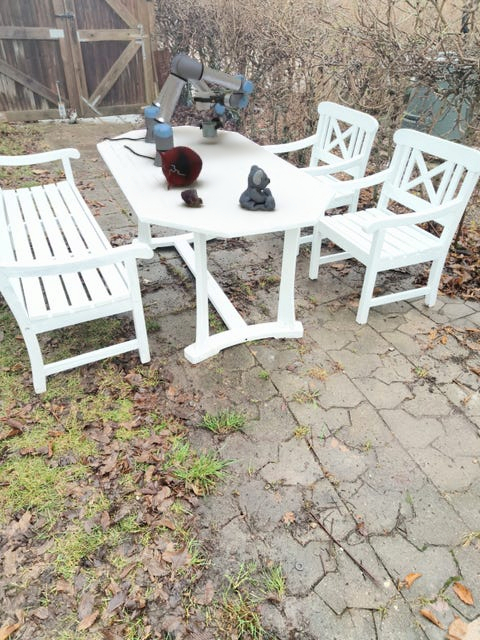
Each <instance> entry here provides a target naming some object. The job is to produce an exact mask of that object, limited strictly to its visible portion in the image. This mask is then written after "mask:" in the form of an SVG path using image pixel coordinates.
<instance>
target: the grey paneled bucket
mask: <svg viewBox="0 0 480 640" xmlns="http://www.w3.org/2000/svg"><path fill="white" fill-rule="evenodd" d="M195 97H202V98H210V93H209V92H198V91H196V92H195ZM195 108H196V110H198V111H208V110H211V105H210V103H201V102H195Z"/></svg>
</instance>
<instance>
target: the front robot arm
mask: <svg viewBox="0 0 480 640" xmlns="http://www.w3.org/2000/svg"><path fill="white" fill-rule="evenodd" d="M171 66H172V70H171V69H170V73H169V75H170V76H171V80H170V83H169V85H168V88H167V91H166V94H165V97H164V99H163V102H162V105H161V108H160V111H159V113H158V116H157V117H154V120H153V123H151V124H150V126H149V129H148V132H149V135H150V137H151V139H152V140H153V141H155V143H154V145H155V155H154V157H151V156H147V155H143V154H140V153H137V152H135V151H134V150H133V149H132V148H131V147H129V146H127V145H125V144H124V145H123V146H124V147H125V148H127V149H129V150H130V152H132V153H133V154H135V155H136V156H139V157H142V158H148V159H152V160H154V165H155V166H157V167H161V168H162V160H161V158H162V157H161V155H160V154H159V152H158V150H160V151H161V152H162V154H164V153H165V152H166V151H168V150H170V149H172V148H174V147H175V143H174V130H173V127H172V124H171V120H172V118H173V116H174V112H175V109H176V107H177V104H178V101H179V99H180V96H181V94H182V91H183V88H184V86H185V85H186V84H188V82H189V80H188V79H195V80H199V81H200V80H203V81H204V82H208V83H210V84H215V85H217V86H220V87H223V88H226V89H230V90H232V94H231V93H220V94H219V95H216V96H214V95H212V96H210V98H202V97H196V96H193V102H195V103H196V102H201V103H219V104H220V106H225V107H228V108H231V107H232V108H246V107H247V106H248V104H249V99H248V96H247V95H251V94H252V93H253V92H254V91H255V86H254V83H253V82H252V81H251V80H247V79H245V75H244V74H234V75H232V74H230V73H226V72H223V71H220V70H217V69H214V68H212V67H208V66H207V65H206V66H205V64H204V63H203V62H200V61H198V60H195V59H194V58H193V57H190V56H189V57H187V56H184V55H179V56H177V55H176V56H174V58H173V59H172V61H171Z"/></svg>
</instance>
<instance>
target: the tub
mask: <svg viewBox="0 0 480 640" xmlns="http://www.w3.org/2000/svg"><path fill="white" fill-rule="evenodd" d="M203 122H204V123H203ZM203 122H201V123H202V129H201V130H202V131H201V132H202V138H205V139H206V138H207V139H209V138H216V137H218V129H217V130H215V126H216V125H217V123H215V122H209V121H207V122H206V121H203Z"/></svg>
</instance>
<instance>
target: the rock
mask: <svg viewBox="0 0 480 640" xmlns="http://www.w3.org/2000/svg"><path fill="white" fill-rule="evenodd" d="M180 197H181V200H182V201H183V202H184V203H185V205H187V206H189V207H191V206H192V207H193V206H201V205H203V204H204V202H203V199H202V197H199V195H198V190H197V189H196V188H188V189H185V190H181V192H180Z"/></svg>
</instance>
